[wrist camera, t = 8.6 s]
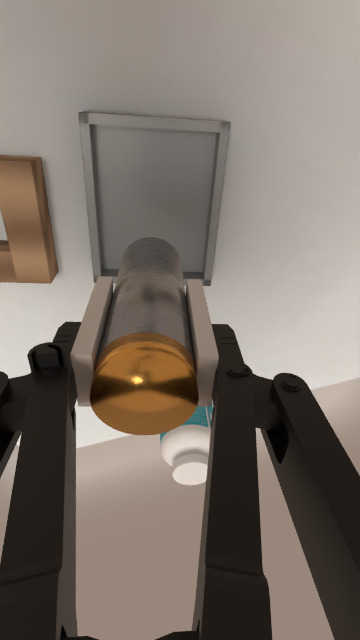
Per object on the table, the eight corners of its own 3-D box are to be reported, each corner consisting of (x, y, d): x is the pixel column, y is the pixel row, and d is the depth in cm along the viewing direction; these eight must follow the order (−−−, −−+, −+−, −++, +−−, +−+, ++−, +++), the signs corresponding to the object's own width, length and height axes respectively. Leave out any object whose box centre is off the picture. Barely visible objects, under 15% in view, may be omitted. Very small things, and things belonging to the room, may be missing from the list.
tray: (84, 111, 30) (78, 112, 28) (225, 121, 31) (230, 122, 29) (97, 272, 39) (93, 282, 37) (207, 276, 40) (210, 286, 38)
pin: (122, 291, 23) (94, 435, 13) (120, 235, 21) (84, 357, 11) (179, 293, 24) (194, 434, 14) (182, 238, 21) (204, 358, 11)
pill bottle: (150, 394, 50) (147, 479, 39) (180, 364, 47) (187, 446, 36) (188, 414, 53) (196, 498, 42) (219, 386, 50) (236, 469, 39)
